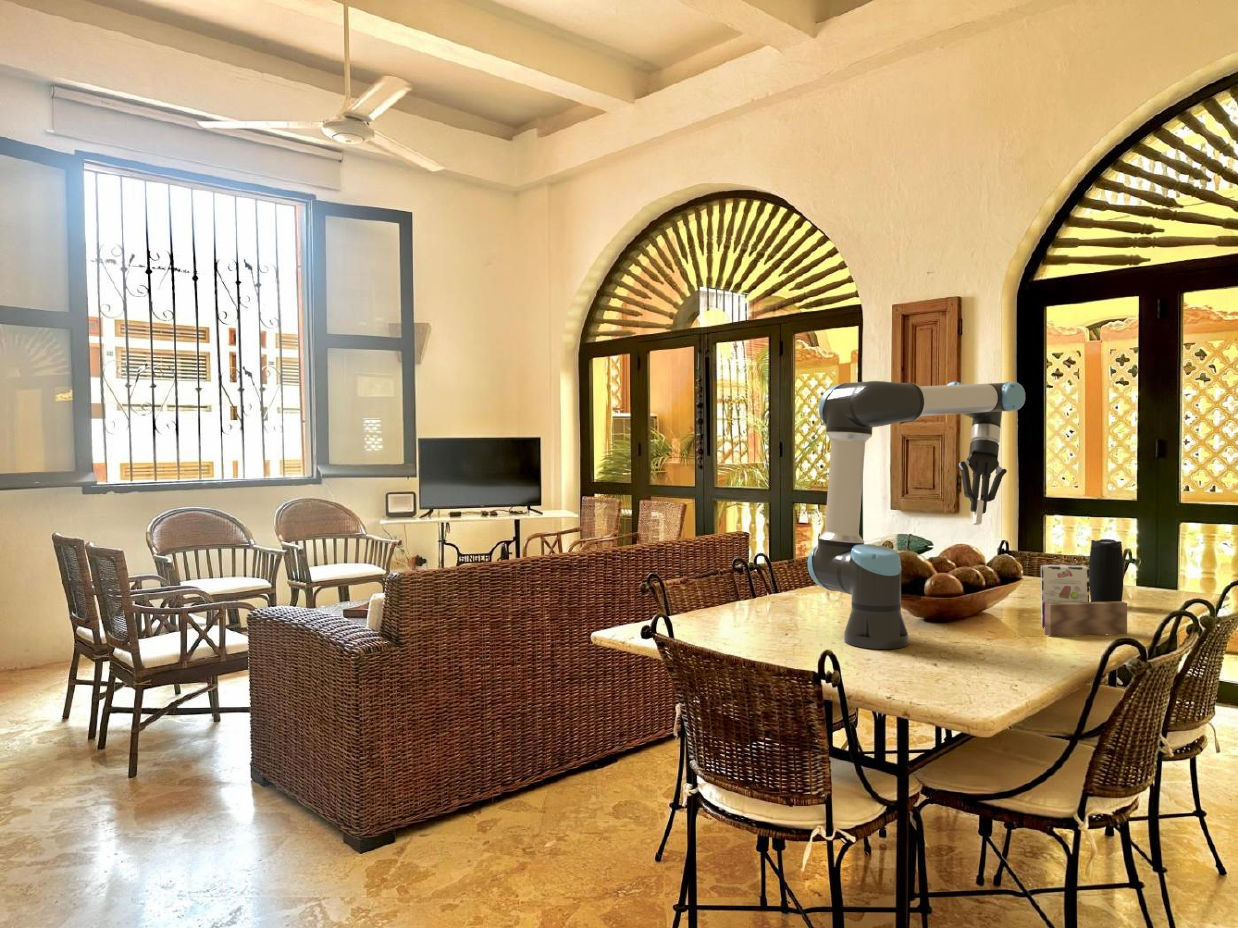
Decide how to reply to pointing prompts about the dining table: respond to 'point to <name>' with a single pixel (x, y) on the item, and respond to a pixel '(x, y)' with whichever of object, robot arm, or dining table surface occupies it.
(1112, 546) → the portable speaker
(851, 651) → the dining table surface
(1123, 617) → the walnut board
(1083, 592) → the candy bar box
